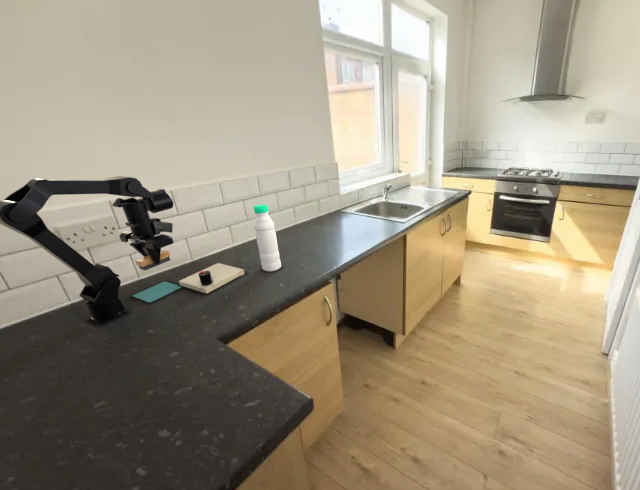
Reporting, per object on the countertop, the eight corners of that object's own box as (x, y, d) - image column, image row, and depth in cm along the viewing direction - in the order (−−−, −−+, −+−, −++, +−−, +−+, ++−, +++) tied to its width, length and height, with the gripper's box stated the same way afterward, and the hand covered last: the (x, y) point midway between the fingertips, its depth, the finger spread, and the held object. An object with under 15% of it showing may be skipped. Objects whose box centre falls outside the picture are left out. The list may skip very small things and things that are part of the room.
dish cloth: (150, 303, 102) (149, 302, 102) (132, 296, 106) (131, 295, 106) (182, 287, 111) (182, 286, 111) (165, 282, 115) (164, 281, 115)
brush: (144, 271, 102) (140, 262, 100) (138, 269, 103) (134, 260, 101) (171, 259, 109) (168, 251, 107) (166, 258, 110) (163, 249, 109)
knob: (215, 282, 110) (212, 271, 108) (206, 286, 107) (202, 275, 105) (208, 280, 112) (205, 269, 110) (199, 284, 109) (195, 273, 107)
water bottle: (284, 264, 126) (274, 203, 116) (277, 272, 120) (265, 208, 110) (267, 264, 127) (255, 203, 117) (259, 272, 121) (246, 208, 110)
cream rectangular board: (206, 296, 105) (204, 290, 105) (177, 287, 112) (176, 281, 111) (246, 274, 119) (245, 269, 118) (219, 267, 125) (217, 262, 124)
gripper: (182, 213, 102) (195, 257, 108) (147, 207, 109) (161, 249, 116) (145, 224, 93) (163, 271, 99) (110, 217, 100) (128, 261, 107)
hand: (154, 262), depth 105 cm, fingers closed on brush, 3 cm apart
